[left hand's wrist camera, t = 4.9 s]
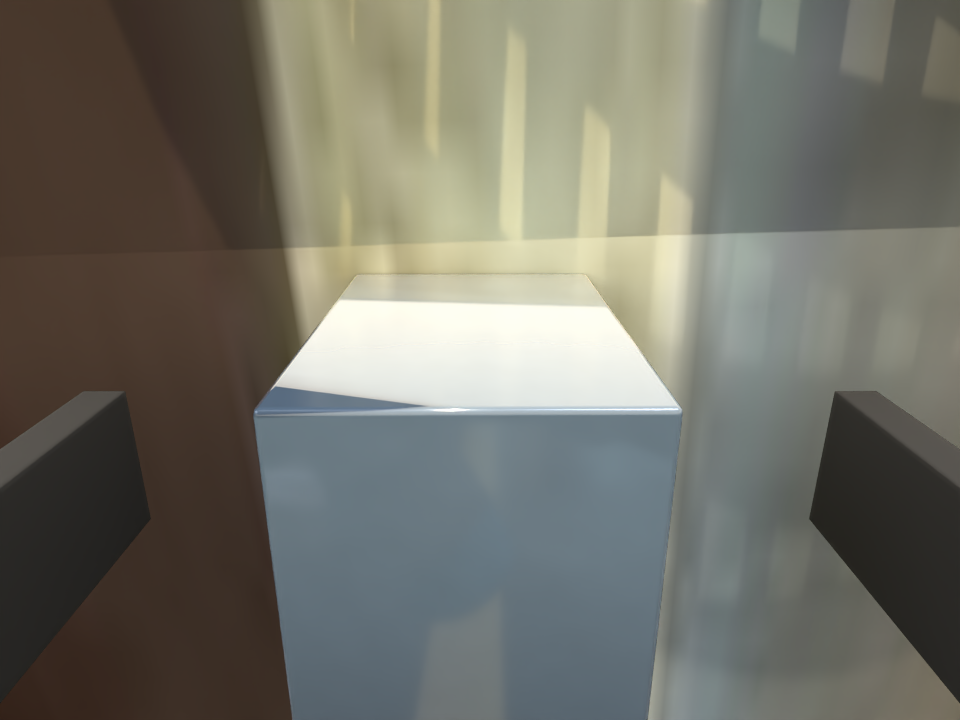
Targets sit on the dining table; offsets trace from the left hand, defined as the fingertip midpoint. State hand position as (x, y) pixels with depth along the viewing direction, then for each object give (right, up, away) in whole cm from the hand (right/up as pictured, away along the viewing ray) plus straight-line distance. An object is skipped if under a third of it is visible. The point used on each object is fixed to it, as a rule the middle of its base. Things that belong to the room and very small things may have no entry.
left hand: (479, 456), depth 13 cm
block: (0, +1, +3) cm, 3 cm away
